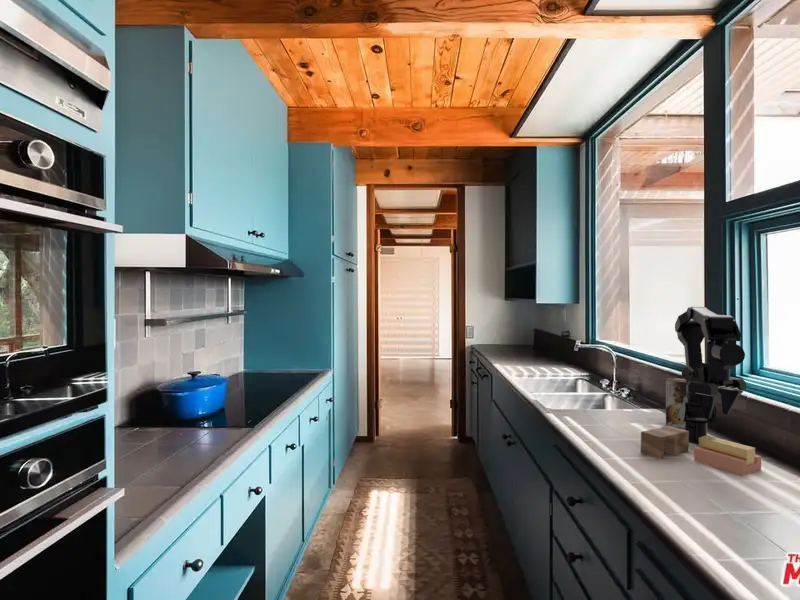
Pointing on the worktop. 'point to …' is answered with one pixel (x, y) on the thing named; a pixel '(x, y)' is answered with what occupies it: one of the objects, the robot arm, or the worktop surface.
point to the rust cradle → (726, 461)
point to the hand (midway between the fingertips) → (716, 416)
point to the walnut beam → (664, 441)
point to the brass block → (728, 448)
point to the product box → (675, 401)
